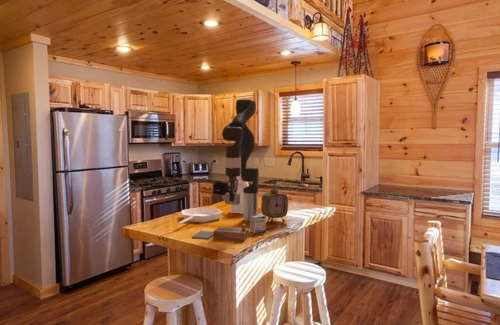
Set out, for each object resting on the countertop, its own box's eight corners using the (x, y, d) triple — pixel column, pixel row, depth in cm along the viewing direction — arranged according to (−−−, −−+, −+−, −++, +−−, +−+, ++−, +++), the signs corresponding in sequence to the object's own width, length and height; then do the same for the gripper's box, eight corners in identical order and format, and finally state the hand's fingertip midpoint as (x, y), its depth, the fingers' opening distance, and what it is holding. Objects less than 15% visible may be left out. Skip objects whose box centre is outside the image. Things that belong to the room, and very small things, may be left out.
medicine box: (254, 233, 178) (254, 217, 177) (249, 231, 182) (249, 216, 181) (266, 231, 183) (266, 215, 182) (261, 229, 186) (261, 214, 186)
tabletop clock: (267, 224, 197) (267, 182, 196) (259, 221, 205) (260, 181, 204) (287, 222, 204) (288, 181, 202) (279, 219, 212) (280, 179, 210)
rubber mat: (200, 231, 181) (200, 230, 181) (216, 232, 179) (216, 231, 179) (191, 238, 169) (191, 236, 169) (208, 239, 167) (208, 238, 167)
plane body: (219, 233, 178) (219, 220, 177) (248, 235, 174) (248, 222, 174) (213, 239, 168) (213, 225, 167) (244, 241, 164) (244, 227, 164)
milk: (249, 210, 238) (249, 174, 236) (248, 214, 226) (248, 175, 225) (233, 210, 239) (233, 174, 237) (230, 213, 228) (230, 175, 226)
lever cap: (226, 202, 172) (226, 191, 172) (239, 203, 171) (239, 192, 170) (224, 204, 169) (224, 192, 168) (237, 204, 167) (238, 193, 167)
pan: (228, 215, 222) (228, 209, 221) (202, 231, 182) (202, 223, 182) (190, 213, 230) (190, 206, 229) (157, 227, 190) (157, 219, 190)
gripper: (229, 165, 176) (229, 198, 177) (221, 167, 162) (221, 202, 164) (243, 165, 175) (243, 198, 176) (236, 167, 161) (236, 203, 162)
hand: (232, 200), depth 170 cm, fingers closed on lever cap, 3 cm apart
